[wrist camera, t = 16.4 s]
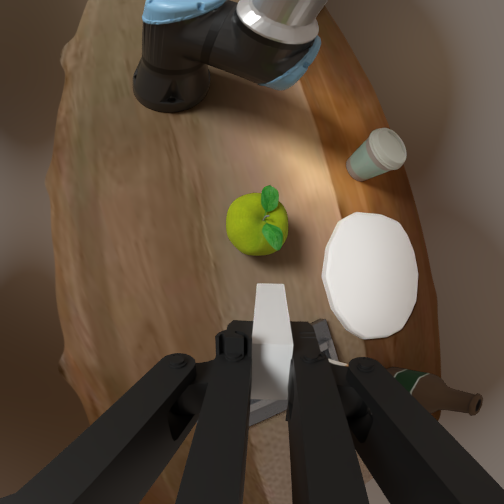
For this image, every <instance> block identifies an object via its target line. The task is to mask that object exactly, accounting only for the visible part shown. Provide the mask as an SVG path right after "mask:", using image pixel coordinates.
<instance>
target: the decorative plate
mask: <svg viewBox="0 0 504 504" xmlns="http://www.w3.org/2000/svg"><path fill="white" fill-rule="evenodd" d="M322 280H323V283H324V286H325V290H326V293H327V297H328V300H329V304H330V308H331V310H332V311H333V312H334V314H335V315H336V317H337V318H338V319H339V321H340V322H341V324H342V325H343V327H344V328H345V329H346V330H347V331H349V332H350V333H352V334H354V335H355V336H357V337H358V338H360V339H374V338H383V337H388V336H390V335H392V334H394V333H396V332H398V331H400V330H401V329H402V328H403V326H404V325H405V323H406V321H407V320H408V318H409V316H410V314H411V312H412V310H413V307H414V305H415V302H416V298H417V285H418V270H417V264H416V259H415V254H414V250H413V248H412V245H411V243H410V240H409V238H408V235H407V234H406V232H405V231H404V229H403V228H402V226H401V225H400V223H399V222H397V221H395V220H393V219H391V218H388V217H386V216H384V215H381V214H372V213H361V212H355V213H353V214H351V215H349V216H347V217H345V218H344V219H342V220H340V221H338V223H337V225H336V227H335V229H334V231H333V233H332V235H331V238H330V240H329V242H328V244H327V246H326V249H325V256H324V263H323V270H322Z"/></svg>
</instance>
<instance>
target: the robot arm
mask: <svg viewBox="0 0 504 504" xmlns="http://www.w3.org/2000/svg"><path fill="white" fill-rule="evenodd" d="M327 1H328V0H240V1H239V2H238V3H236V2H233V1H230V0H146V2H145V8H144V13H143V16H142V20H143V32H142V58H141V60H140V62H139V64H138V66H137V69H136V71H135V73H134V76H133V91H134V95H135V97H136V98H137V100H138V101H139V102H140V103H141V104H143V105H144V106H146V107H148V108H150V109H152V110H155V111H160V112H178V111H183V110H186V109H189V108H191V107H193V106H195V105H197V104H198V103H199V102H200V101H202V100H203V98H204V97H205V96H206V94H207V92H208V88H209V85H210V72H209V69H208V65H210V66H213V67H215V68H218V69H221V70H224V71H226V72H229V73H232V74H234V75H237V76H239V77H242V78H245V79H247V80H249V81H252V82H254V83H257V84H258V85H261V86H266V87H269V88H272V89H275V90H286V89H288V88H290V87H291V86H293V85H294V84H295V83H296V82H297V81H298V80H299V79H300V78H301V77H302V76H303V74H304V73H305V72H306V71H307V68H308V66H309V65H310V64H311V63H312V62H313V60H314V59H315V57H316V55H317V53H318V51H319V49H320V45H321V39H320V37H319V36H317V34H318V31H319V27H318V23H317V21H316V19H315V18H316V16H317V15H318V13H319V12H320V10H321V9H322V8H323V6H324V5H325V3H326V2H327ZM215 340H216V358H215V359H214V360H211V361H209V362H203V363H195V359H193V358H192V357H191V356H189V355H187V354H181V353H175V354H170V355H167V356H165V357H164V358H162V359H161V360H160V361H159V362H158V363H157V364H156V365H155V366H154V367H153V368H152V369H151V370H149V371H148V372H147V373H146V374H145V375H144V376H143V377H142V378H141V379H140V380H139V381H138V382H137V383H136V384H135V385H134V386H132V387H131V388H130V389H129V390H128V391H127V392H126V393H125V394H124V395H123V396H122V397H121V398H120V399H119V400H118V401H116V402H115V403H114V404H113V405H112V406H111V407H110V408H109V409H108V410H107V411H106V412H105V413H104V414H103V415H101V416H100V417H99V418H98V419H97V420H96V421H95V422H94V423H93V424H92V425H91V426H90V427H88V428H87V429H86V430H85V431H84V432H83V433H82V434H81V435H80V436H79V437H78V438H77V439H76V440H75V441H73V442H72V443H71V444H70V445H69V446H68V447H67V448H65V449H64V450H63V451H62V452H61V453H60V454H59V455H58V456H57V457H56V458H54V459H53V460H52V461H51V462H50V463H49V464H48V465H47V466H46V467H44V468H43V469H42V470H41V471H40V472H39V473H38V474H37V475H36V476H34V477H33V478H32V479H31V480H30V481H29V482H28V483H27V484H25V485H24V486H23V487H22V488H21V489H20V490H19V491H18V492H16V493H15V494H12V495H9V496H6V497H3V498H0V504H139V502H140V501H141V500H142V498H143V497H144V496H145V494H146V493H147V492H148V490H149V489H150V487H151V486H152V485H153V483H154V482H155V481H156V479H157V478H158V476H159V475H160V474H161V472H162V471H163V470H164V468H165V467H166V465H167V464H168V462H169V461H170V460H171V458H172V457H173V455H174V454H175V453H176V451H177V450H178V448H179V447H180V445H181V444H182V442H183V441H184V440H185V438H186V437H187V435H188V434H189V432H190V431H191V429H192V428H193V426H194V425H195V423H196V422H197V420H198V422H197V426H196V429H195V433H194V437H193V440H192V444H191V448H190V451H189V455H188V459H187V462H186V466H185V470H184V473H183V477H182V481H181V484H180V488H179V492H178V495H177V499H176V503H175V504H243V492H244V480H245V468H246V456H247V443H248V430H249V417H250V399H263V400H287V397H288V406H287V413H286V421H288V428H289V444H290V461H291V480H292V502H293V504H369V501H368V497H367V492H366V488H365V484H364V481H363V477H362V473H361V469H360V465H359V462H358V458H357V454H356V451H357V453H358V454H359V456H360V457H361V459H362V461H363V462H364V464H365V465H366V467H367V468H368V470H369V472H370V473H371V475H372V476H373V478H374V479H375V481H376V482H377V484H378V485H379V487H380V488H381V490H382V492H383V493H384V495H385V496H386V498H387V499H388V501H389V502H390V504H504V489H502V487H500V485H499V484H498V483H497V482H496V481H495V480H494V479H493V478H492V477H491V476H490V475H489V474H488V473H487V472H486V471H485V470H484V469H483V467H482V466H481V465H480V464H479V463H478V462H477V461H476V460H475V459H474V458H473V457H472V456H471V455H470V454H469V453H468V452H467V451H466V450H465V449H464V448H463V447H462V446H461V445H460V444H459V443H458V442H457V441H456V440H455V439H454V437H453V436H452V435H451V434H449V432H448V431H447V430H446V429H445V428H444V427H443V426H442V425H441V424H440V423H439V422H438V421H437V420H436V419H435V418H434V417H433V416H432V415H431V414H430V413H429V412H428V411H427V410H426V409H425V408H424V407H423V406H422V405H421V404H420V403H419V402H418V401H417V400H416V399H415V398H414V397H413V396H412V395H411V394H410V393H409V392H408V391H407V390H406V389H405V388H404V387H403V386H402V385H401V384H400V383H399V382H398V381H397V380H396V379H395V378H394V377H393V376H392V375H391V374H390V373H389V372H388V371H387V370H386V369H385V368H384V367H383V366H382V365H381V364H380V363H379V362H378V361H376V360H374V359H371V358H368V357H367V358H366V357H358V358H355V359H352V360H351V361H350V362H349V365H348V366H341V365H336V364H333V363H330V362H329V360H328V357H327V356H326V354H324V353H322V352H321V351H320V347H319V344H318V341H317V338H316V334H315V331H314V327H313V326H312V325H311V324H310V323H308V322H292V321H290V319H289V313H288V307H287V301H286V295H285V289H284V284H262V283H257V290H256V301H255V311H254V321H238V320H233V321H232V322H231V323H230V324H228V327H227V330H224V331H221V332H219V333H218V334H217V335H216V336H215ZM355 450H356V451H355Z"/></svg>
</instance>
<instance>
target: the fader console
mask: <svg viewBox="0 0 504 504" xmlns="http://www.w3.org/2000/svg"><path fill="white" fill-rule="evenodd" d="M310 324H311V325H312V326H313V327H314V331H315V334H316V338H317V341H318V344H319V347H320V351H321V352H322V353H324V354H326V356H327V357H328V359H332V360H335V361H338V358H337V354H336V351H335V347H334V344H333V340H332V338H331V335H330V332H329V328H328V325H327V322H326V319H318V320H316V321H314V322H312V323H310ZM338 362H339V361H338ZM287 406H288V397H287V400H263V399H250V417H249V426H251V425H253V424H256V423H258V422H260V421H263V420H265V419H267V418H269V417H272V416H274V415H276V414H278V413H280V412H282V411H284V410H286V409H287ZM197 422H198V420H197Z"/></svg>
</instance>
